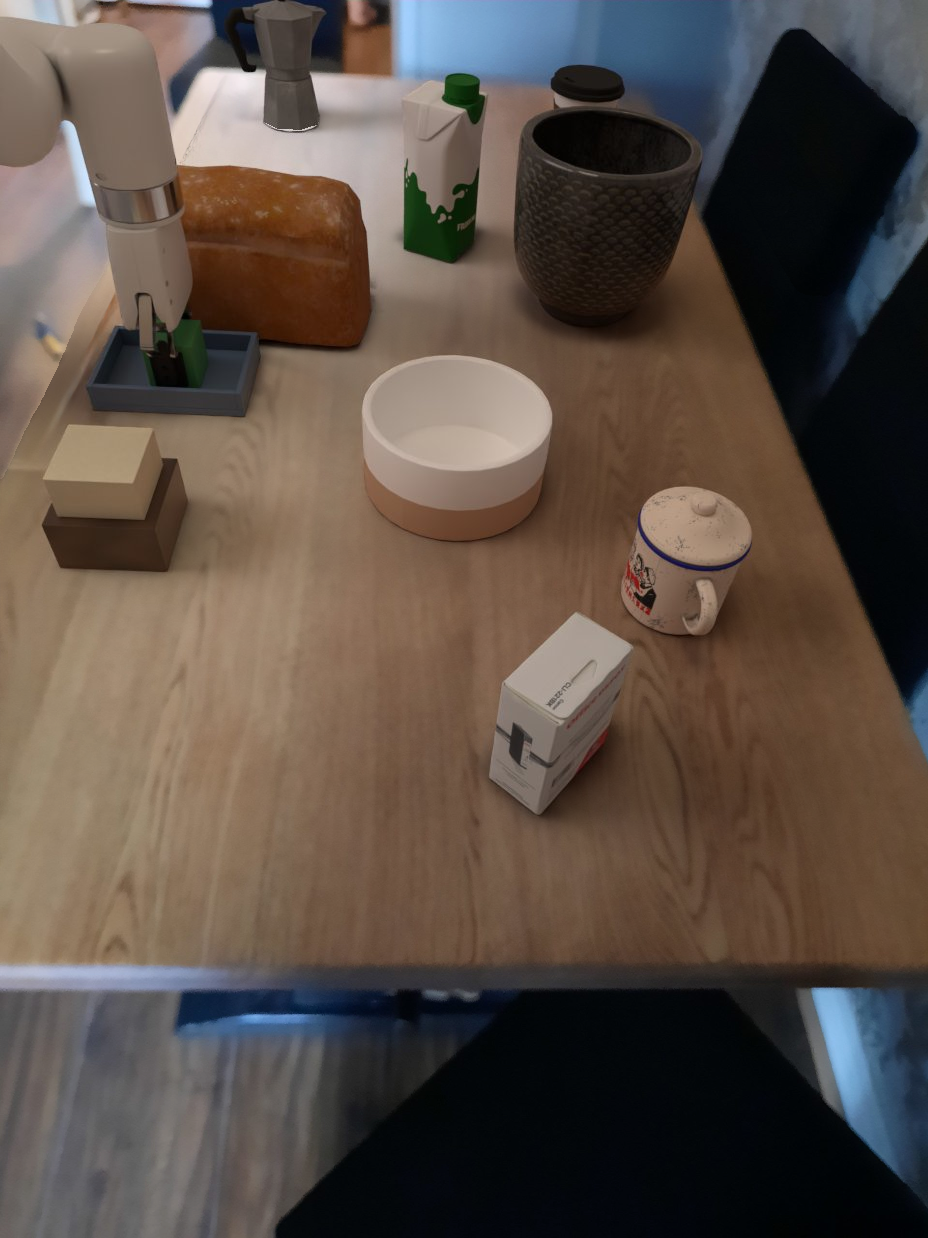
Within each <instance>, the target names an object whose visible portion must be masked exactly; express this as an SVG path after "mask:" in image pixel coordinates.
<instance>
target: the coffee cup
mask: <svg viewBox="0 0 928 1238" xmlns="http://www.w3.org/2000/svg"><path fill="white" fill-rule="evenodd" d="M550 90H552V91H553V92H554V98H553V109H558V108H563V107H571V106H607V107H616V108H618V107H617V105H618V102H619V100H620V99H622V97H623V96H624V95H625V91H626V88H625V84H624V80H623V77H622V76H621V75H620V74H619V73H617V72H615V71H614V70H611V69H610V68H609V69H608V68H606V67H602V66H597V65H591V64H568V65H565V66H562V67H560V68H558V69H557V70H556V71H555V72H554V75H553V76H552V77H551V78H550Z"/></svg>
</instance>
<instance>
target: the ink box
mask: <svg viewBox="0 0 928 1238" xmlns="http://www.w3.org/2000/svg"><path fill="white" fill-rule="evenodd" d="M633 652H634V646H633V644H631V643H630V642H628V641H626V640H625V639H623V638H621V637H619V636H618V635H617V634H615V633H613V632H611V630H608V629H607V628H605V627H604V626H602V625H600V624H599V623H597V622H595V621H594V620H592V619H591V618H590V617H587V616H586V615H584V614H582V613H581V612H579V611H575V612H574V613H573V614H572V615H571V616H570V617H568V619H566V621H565V622H564V623H563V624H562V625H561V626H559V627H558V629H556V630H555V631H554V633H552V634H551V635H550V636H549V637H548V638H546V640H545V641H544V642H543V643H542V644H541V645H540V646H539V647H538V648H536V650H535V651H534V652H533V653H532V654H530V655H529V656H528V657H527V658H526V659H525V660H524V661H523V662H522V663H521V664H520V665H519V666H518V667H517V668H516V669H515V670H514V671H513V672H512V673H511V674H510V675H509V676H507V678H505V680H503V681H502V683H501V688H500V689H501V690H500V694H499V695H500V696H499V703H498V709H497V716H496V723H495V731H494V737H493V738H494V739H493V745H492V752H491V760H490V767H489V773H488V778H489V779H490V780H491V781H493V782H494V783H495V784H497V786H499V787H500V788H502V789H503V790H505V791H506V792H507V793H508V794H510V795H511V796H512V797H513V798H514V799H516V800H517V801H518V802H520V804H522V805H524V806H525V807H526V808H527V809H529V810H530V811H531V812H533V813H534V815H538V816H539V815H541V814H543V812H544V811H545V810H546V809H547V808H548V806H550V804H552V802H553V801H554V800H555V799H556V798H557V796H558V795H559V794H560V793H561V792H562V791H563V790H564V788H566V786H568V784H569V783H570V782H571V780H572V779H573V778H574V777H575V776H576V775H577V774H578V773H579V771H580V770H581V769H582V768H583V767H584V766H585V765H586V764H587V762H588V761H589V760H590V759H591V758H592V757H593V755H595V753H596V752H597V751H598V749H600V748H601V747H602V745H603V744H604V743H605V739H606V737H607V733H608V731H609V727H610V724H611V721H612V718H613V714H614V712H615V708H616V706H617V703H618V698H619V696H620V693H621V689H622V686H623V683H624V680H625V677H626V675H627V671H628V668H629V665H630V661H631V657H632V656H633Z"/></svg>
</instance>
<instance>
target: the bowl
mask: <svg viewBox="0 0 928 1238" xmlns="http://www.w3.org/2000/svg"><path fill="white" fill-rule="evenodd" d="M361 424H362V425H361V426H362V427H361V428H362V449H363V469H364V470H363V471H364V484H365V485H364V487H365V489H366V492H367V495H368V497H369V499H370V501H371V502H372V504H373V505H374V507H375V508H376V509H377V511H378V512H379V513H381V514H382V515H383V516H384V517H385V518H386V519H387V520H388V521H390V522H391V523H393V524H395V525H397V526H398V527H400V528H401V529H402V530H406V531H408V532H410V533H413V534H415V535H418V536H421V537H426V538H431V539H434V540H440V541H451V542H459V541H460V542H461V541H463V542H464V541H465V542H466V541H477V540H482V539H487V538H491V537H494V536H496V535H499V534H502V533H505V532H507V531H509V530H510V529H513V528H514V527H516V526H517V525H519V524H520V523H521V522H522V521H523V520H525V519H526V518H527V517H528V516H529V515H531V512H532V511H533V509H534V508H535V507H536V505H537V503H538V501H539V497H540V494H541V491H542V485H543V480H544V473H545V468H546V464H547V459H548V454H549V447H550V442H551V436H552V432H553V431H552V429H553V411H552V408H551V405H550V401H549V400H548V398H547V396H546V394H544V392H543V390H542V389H541V388H540V387H539V386H538V385H537V383H535V382H534V381H533V380H531V379H530V378H528V377H527V376H526V375H524V374H523V373H521V372H520V371H518V370H516V369H514V368H513V367H512V368H511V367H510V366H507V365H505V364H503V363H500V362H497V361H494V360H490V359H486V358H481V357H477V356H469V355H458V354H453V355H452V354H446V355H445V354H444V355H441V354H440V355H439V354H438V355H433V356H432V355H431V356H425V357H420V358H416V359H411V360H408V361H405V362H403V363H400V364H398V365H396V366H393V367H392V368H390V369H388V370H387V371H384V372H383V373H382V374H380V375H379V376H378V377H377V378H376V379H375V380H374V381H373V382H372V383H371V384H370V386H369V388H368V389H367V391H366V393H365V394H364V398H363V401H362V405H361Z"/></svg>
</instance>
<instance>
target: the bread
mask: <svg viewBox="0 0 928 1238" xmlns="http://www.w3.org/2000/svg"><path fill="white" fill-rule="evenodd" d="M177 169H178V173H179V178H180V183H181V189H182V194H183V199H184V204H185V211H184V214H183V215H182V216H181V217H180V219H181V223H182V227H183V231H184V235H185V239H186V244H187V248H188V253H189V258H190V264H191V270H192V278H193V284H192V290H191V293H190V296H189V299H188V300H189V303H190V306H191V309H192V319H191V320H200V321H201V326H202V330H216V331H236V332H256V333H258V340H264V341H266V340H267V341H276V342H281V343H283V342H284V343H289V344H299V345H309V346H326V347H349V348H351V347H352V346H355V345H358V344H360V343H361V341H362V338H363V337H364V334H365V332H366V331H367V328H368V324H369V320H370V317H371V313H372V303H371V302H372V301H371V273H370V260H369V258H370V257H369V243H368V232H367V229H366V225H365V222H364V219H363V212H362V205H361V199H360V198H359V196H358V194H357V193H356V192H355V191H354V190H353V188H352V187H351V186H350V185H349V183H347V182H344V181H342V180H339V179H335V178H330V177H326V176H322V175H303V174H302V175H300V174H299V175H297V174H292V173H285V172H281V171H274V170H268V169H263V168H257V167H249V166H240V165H239V166H238V165H230V164H229V165H210V166H209V165H208V166H194V165H183V164H177ZM137 327H139V323H138V325H137Z"/></svg>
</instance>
